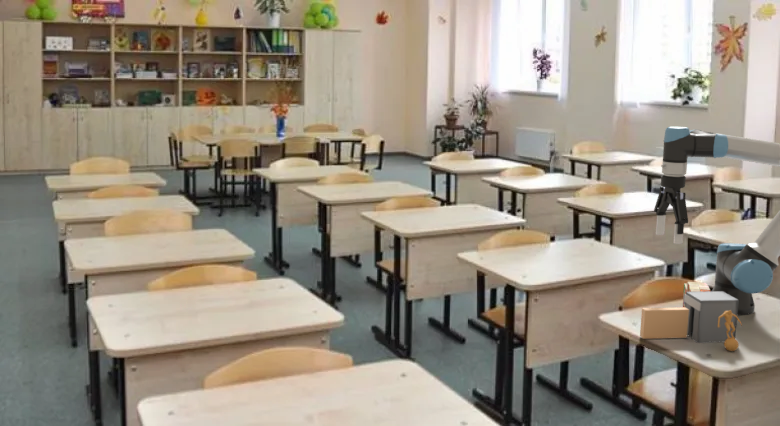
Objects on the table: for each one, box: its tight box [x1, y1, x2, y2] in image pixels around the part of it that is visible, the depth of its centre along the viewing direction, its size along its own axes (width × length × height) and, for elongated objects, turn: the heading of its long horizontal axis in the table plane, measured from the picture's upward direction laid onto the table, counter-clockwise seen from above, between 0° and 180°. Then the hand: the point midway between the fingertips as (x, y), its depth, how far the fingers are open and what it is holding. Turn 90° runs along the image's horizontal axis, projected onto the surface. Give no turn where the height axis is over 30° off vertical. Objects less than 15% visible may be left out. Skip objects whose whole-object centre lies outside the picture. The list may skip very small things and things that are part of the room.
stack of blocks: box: [682, 281, 711, 307], centre depth 280 cm, size 21×6×12 cm, turn 166°
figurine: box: [718, 310, 743, 352], centre depth 250 cm, size 8×6×12 cm
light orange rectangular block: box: [639, 306, 689, 340], centre depth 260 cm, size 14×2×9 cm, turn 96°
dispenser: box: [684, 290, 739, 344], centre depth 262 cm, size 12×10×13 cm
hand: (668, 239), depth 277 cm, fingers open, 13 cm apart
